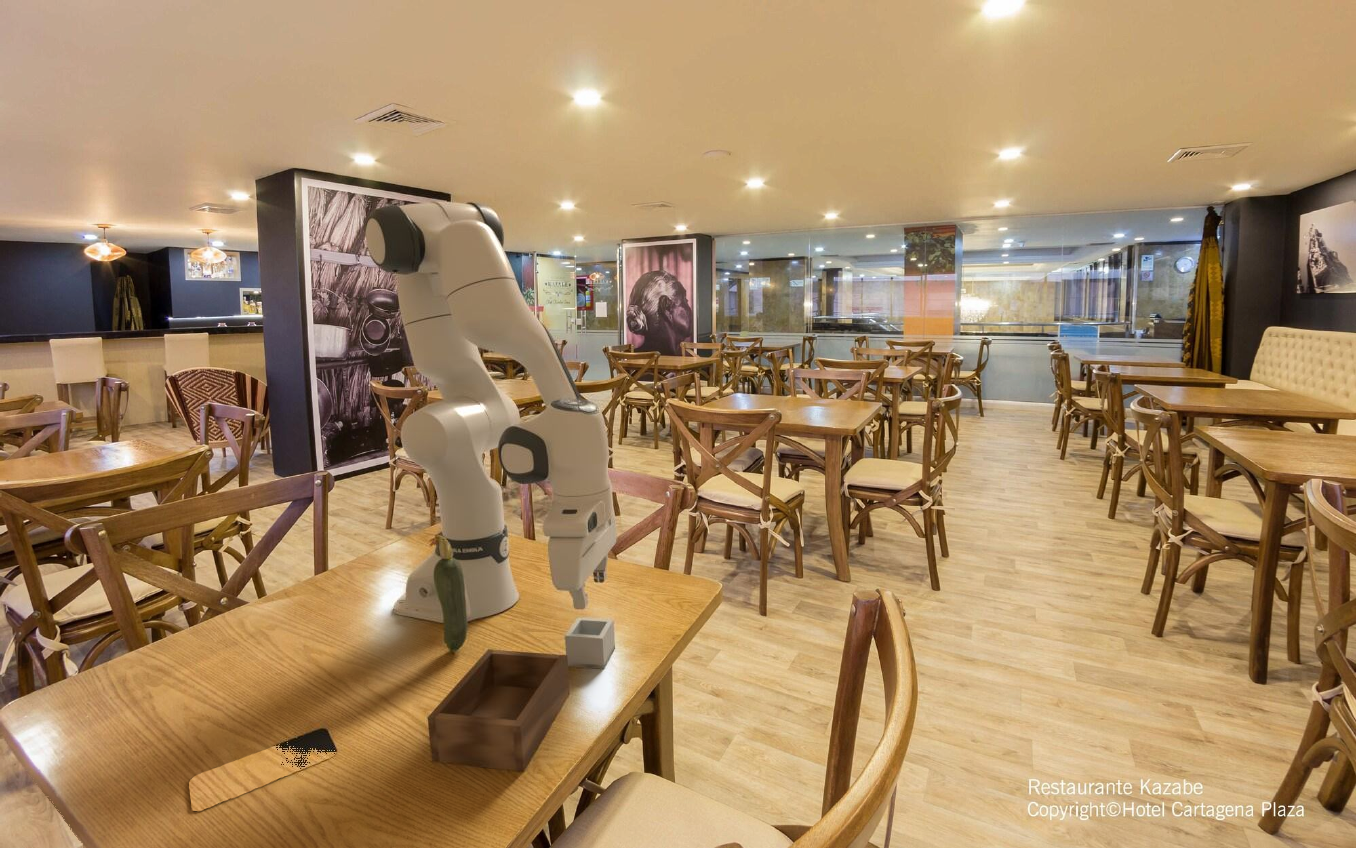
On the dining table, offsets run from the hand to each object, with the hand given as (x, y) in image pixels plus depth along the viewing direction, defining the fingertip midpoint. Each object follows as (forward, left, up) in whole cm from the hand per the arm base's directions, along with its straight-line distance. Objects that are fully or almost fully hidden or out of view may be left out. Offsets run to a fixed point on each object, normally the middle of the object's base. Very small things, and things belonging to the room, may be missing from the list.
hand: (591, 593), depth 101 cm
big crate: (-7, -18, -11) cm, 22 cm away
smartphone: (-33, -30, -11) cm, 46 cm away
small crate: (-1, 0, -11) cm, 11 cm away
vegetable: (-23, -2, -11) cm, 25 cm away
